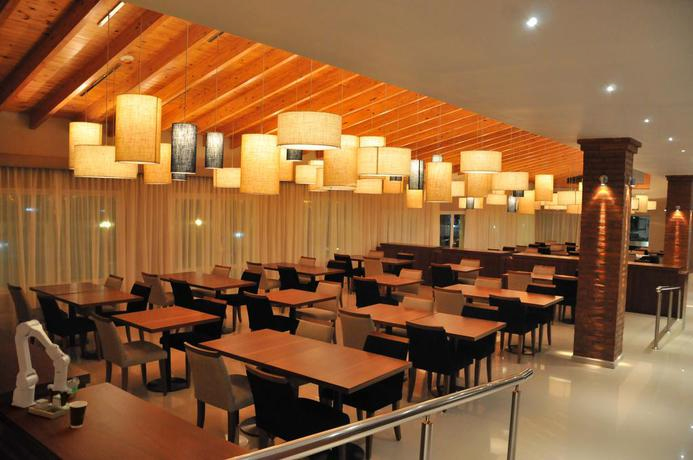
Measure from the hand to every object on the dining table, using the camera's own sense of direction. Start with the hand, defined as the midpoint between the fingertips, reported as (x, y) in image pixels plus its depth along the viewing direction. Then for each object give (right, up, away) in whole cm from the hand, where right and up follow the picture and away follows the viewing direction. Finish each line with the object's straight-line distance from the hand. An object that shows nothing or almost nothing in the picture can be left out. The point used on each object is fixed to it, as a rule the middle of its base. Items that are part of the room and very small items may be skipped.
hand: (58, 404), depth 273 cm
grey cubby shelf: (-1, -2, -8) cm, 8 cm away
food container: (-1, -2, +15) cm, 15 cm away
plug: (0, -2, 0) cm, 2 cm away
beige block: (-5, -2, -7) cm, 9 cm away
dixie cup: (+20, -4, -19) cm, 28 cm away
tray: (0, -2, 0) cm, 2 cm away
